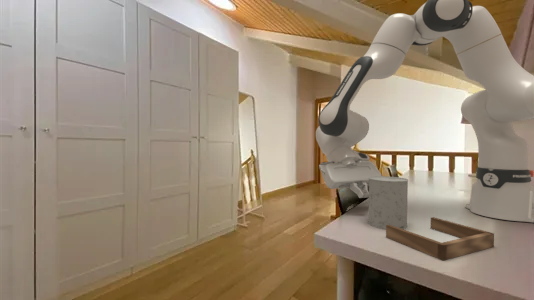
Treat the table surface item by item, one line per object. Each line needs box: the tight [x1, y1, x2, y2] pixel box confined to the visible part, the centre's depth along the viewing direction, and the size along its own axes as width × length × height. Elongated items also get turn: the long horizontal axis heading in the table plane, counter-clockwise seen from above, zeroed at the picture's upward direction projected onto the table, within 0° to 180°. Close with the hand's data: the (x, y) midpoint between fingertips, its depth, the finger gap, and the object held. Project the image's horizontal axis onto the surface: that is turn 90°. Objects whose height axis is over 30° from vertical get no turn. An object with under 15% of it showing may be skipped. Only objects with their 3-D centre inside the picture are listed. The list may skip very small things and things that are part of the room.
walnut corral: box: [385, 216, 495, 261], centre depth 57 cm, size 16×13×3 cm
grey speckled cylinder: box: [367, 175, 409, 230], centre depth 70 cm, size 10×10×12 cm
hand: (365, 196), depth 77 cm, fingers closed
